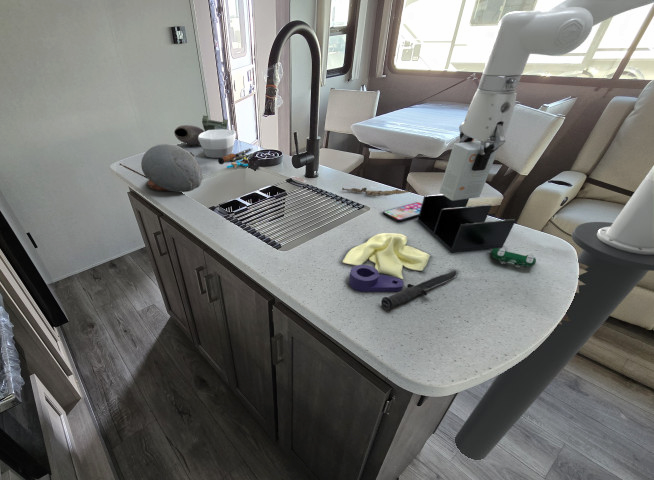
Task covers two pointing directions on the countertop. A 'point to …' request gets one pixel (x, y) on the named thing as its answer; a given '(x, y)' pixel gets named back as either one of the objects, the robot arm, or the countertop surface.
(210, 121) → the toy tank
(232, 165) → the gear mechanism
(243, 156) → the dinosaur
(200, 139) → the bowl
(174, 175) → the gray stone
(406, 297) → the knife
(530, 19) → the robot arm
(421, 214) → the rack
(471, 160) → the small box
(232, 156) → the knife
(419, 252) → the cloth
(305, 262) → the countertop surface
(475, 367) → the countertop surface
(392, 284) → the lever
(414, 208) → the smartphone
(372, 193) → the wooden twig
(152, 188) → the incense holder
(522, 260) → the gaming controller
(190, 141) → the planter
